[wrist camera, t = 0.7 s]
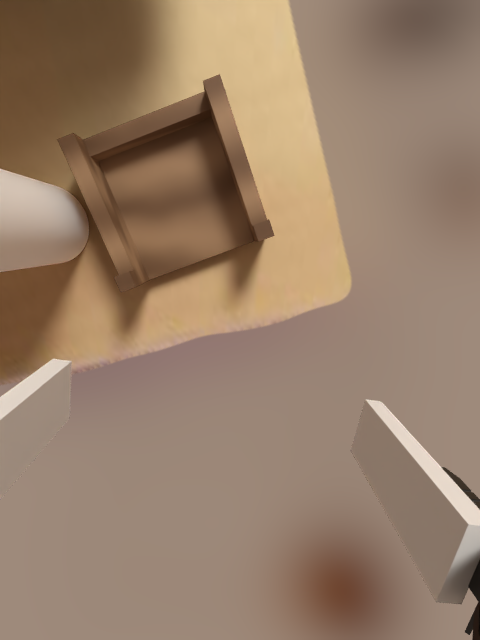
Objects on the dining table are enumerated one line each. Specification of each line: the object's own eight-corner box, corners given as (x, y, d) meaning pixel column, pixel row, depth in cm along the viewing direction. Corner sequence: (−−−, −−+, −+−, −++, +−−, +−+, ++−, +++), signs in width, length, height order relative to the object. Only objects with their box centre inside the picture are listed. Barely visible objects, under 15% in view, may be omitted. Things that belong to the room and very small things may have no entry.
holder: (84, 155, 34) (48, 133, 27) (221, 101, 33) (219, 65, 26) (140, 282, 37) (120, 292, 30) (265, 236, 36) (274, 235, 29)
